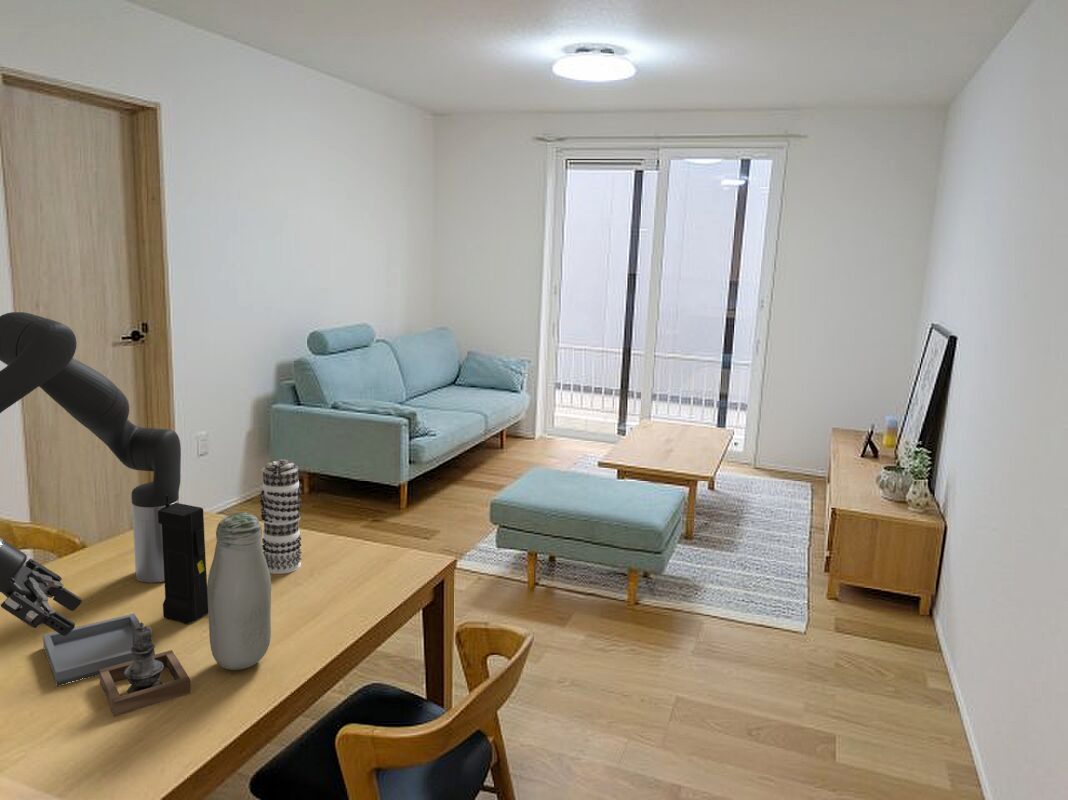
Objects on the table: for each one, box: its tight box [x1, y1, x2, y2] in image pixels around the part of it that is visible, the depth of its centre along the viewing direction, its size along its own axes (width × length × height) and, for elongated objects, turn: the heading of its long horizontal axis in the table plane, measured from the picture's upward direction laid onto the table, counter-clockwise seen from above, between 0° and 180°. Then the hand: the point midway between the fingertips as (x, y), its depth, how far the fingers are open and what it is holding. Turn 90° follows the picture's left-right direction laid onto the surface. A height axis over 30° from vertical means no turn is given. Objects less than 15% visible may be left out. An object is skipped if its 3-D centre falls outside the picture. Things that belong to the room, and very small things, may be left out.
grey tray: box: [42, 613, 155, 687], centre depth 138 cm, size 15×15×2 cm
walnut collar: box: [98, 649, 192, 718], centre depth 128 cm, size 11×11×2 cm
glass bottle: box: [207, 512, 272, 671], centre depth 134 cm, size 10×10×28 cm
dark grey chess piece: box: [124, 621, 164, 694], centre depth 127 cm, size 6×6×12 cm
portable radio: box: [158, 495, 208, 625], centre depth 151 cm, size 8×6×25 cm
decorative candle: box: [259, 459, 303, 575], centre depth 176 cm, size 9×9×25 cm
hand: (74, 617), depth 122 cm, fingers open, 8 cm apart
